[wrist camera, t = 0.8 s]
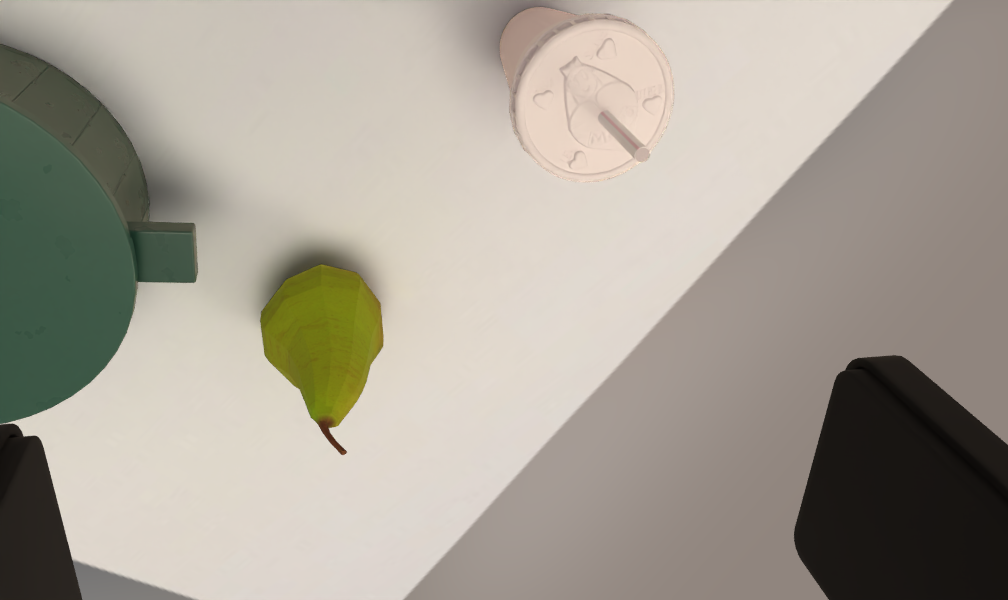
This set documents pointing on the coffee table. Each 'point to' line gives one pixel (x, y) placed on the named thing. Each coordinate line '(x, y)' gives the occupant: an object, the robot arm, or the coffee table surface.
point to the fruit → (324, 339)
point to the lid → (56, 268)
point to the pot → (102, 160)
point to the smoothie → (585, 91)
